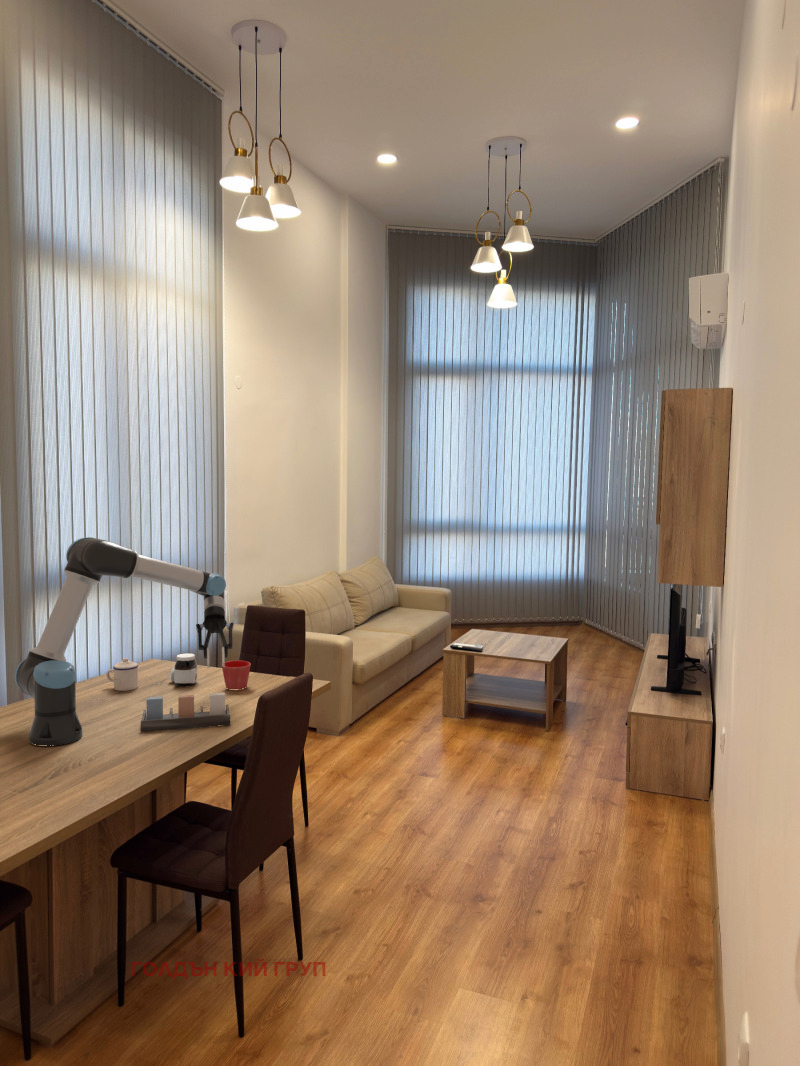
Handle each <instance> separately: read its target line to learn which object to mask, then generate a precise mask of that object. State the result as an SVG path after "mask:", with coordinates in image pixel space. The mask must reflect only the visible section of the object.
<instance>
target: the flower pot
mask: <svg viewBox="0 0 800 1066" xmlns="http://www.w3.org/2000/svg"><path fill="white" fill-rule="evenodd" d="M251 665H252V664H251V662H249V661H246V660H239V659H238V660H229V661H225V667H222V666H221V669H222V674H223V675H222V676H223V679H224V684H225V689H226V688H228V689H242V688H245V687H246V688H247V687H248V681H249V675H250V670H251Z"/></svg>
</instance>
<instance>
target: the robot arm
mask: <svg viewBox="0 0 800 1066" xmlns="http://www.w3.org/2000/svg"><path fill="white" fill-rule="evenodd" d="M65 556H66V557H65V558H66V561H67V563H66V565H65V567H64V570H63V572H64V574H65V580H64V582H63V585H62V587H61V590H60V592H59V594H58V597H57V599H56V601H55V604H54V607H53V608H52V611H51V613H50V615H49V618H48V620H47V623H46V624H45V627H44V629H43V631H42V633H41V637H40V639H39V641H38V644H37V645H36V647H33V648H31V649H30V650H29V651H28V654H27V656H26V658H25V659H23V660H22V661H20V662H19V664H18V665H17V667H16V669H15V671H14V681H15V684H16V686H17V687H18V688H19V690H20V691H21V692H22V693H24V694H25V695H27V696H30V697H31V698H33V699H34V718H33V721H32V724H31V727H30V731H29V733H28V742H29V741H30V742H31V743H33V744H36V745H47V746H50V745H51V746H50V747H56V746H55V745H59V746H63V744H64V745H68V744H71V742H72V743H74V742H77V741H78V740H80V739H81V738H82V737H83V726H82V725H81V721H80V719H79V715H78V714H77V707H76V706H77V702H76V700H77V699H76V697H77V696H76V694H77V693H76V690H77V689H76V685H77V684H76V678H77V674H76V670H75V666H74V665H73V664H72V663H71V662H68V661H67V659H66V656H65V654H66V653H65V652H66V650H67V648H68V645H69V643H70V641H71V638H72V636H73V633H74V632H75V630H76V626H77V624H78V622H79V620H80V617H81V615H82V613H83V611H84V607H85V606H86V603H87V600H88V597H89V596H90V593H91V591H92V588H93V586H95V585H97V584H99V583H100V581H101V579H102V578H103V576H109V577H110V576H111V577H119V578H122V579H129V578H131V577H132V578H136V579H141V580H144V581H148V582H149V581H150V582H154V583H158V584H163V585H167V586H171V587H174V588H179V589H185V590H188V591H190V592H192V593H196V594H197V595H200V596H202V597H203V617H204V618H203V622H202V623H196V625H195V626H196V627H195V629H196V631H197V641H198V642H197V646H198V651H203V659H206V666H207V669H208V668H210V647H209V645H210V644H209V643H210V640H211V636H212V634H218V636H219V638H220V641H221V645H222V646H221V661H222V662H221V668H222V667H225V662H226V660H225V659H226V658H228V654H229V653H228V651H229V649H230V650H232V649H233V629H234V626H235V625H234V622H230V623H229V622H227V620H226V610H225V609H226V607H225V605H226V603H225V602H226V601H225V590H226V587H227V581H226V580H225V578H224V577H223V576H222V575H221V574H219V573H214V572H213V573H212V572H208V571H207V572H206V571H204V570H203V571H202V570H199V569H197V568H196V569H195V568H192V567H188V566H184V565H180V564H175V563H172V562H169V561H165V560H161V559H157V558H153V557H149V556H146V555H141V554H138V553H137V551H136V550H134V549H130V548H127V547H125V546H122V545H120V544H117V543H115V542H112V541H109V540H105V539H99V538H97V537H89V536H88V537H80V538H78V539H76V540H74V541H73V542H72V543H71V544H70V545H69V547H68V548H67V550H66V554H65ZM203 628H204V629H205V630H206V631H207V633H206V636H205V639H204V643H203V642H202V641H203V639H202V638H203V637H202V636H203V635H202V634H203V633H202V631H203ZM225 628H227V630H228V643H227V640H226V637H225V634H224V629H225ZM202 643H203V644H202ZM76 740H77V741H76ZM52 745H54V746H52Z"/></svg>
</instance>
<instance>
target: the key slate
mask: <svg viewBox="0 0 800 1066" xmlns="http://www.w3.org/2000/svg"><path fill="white" fill-rule="evenodd" d="M163 715H164V696H150V697H146V716H147V720H153V719H163Z"/></svg>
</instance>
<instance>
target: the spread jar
mask: <svg viewBox="0 0 800 1066" xmlns="http://www.w3.org/2000/svg"><path fill="white" fill-rule="evenodd" d="M195 657H196V655H195V654H194V653H180V654H177V655H176V661H175V665H174V666H173V667H172V668H171V669H170V671H169V674H168V680H170V681H171V682H173V683H174V684H175V685H176V686H178V687H180V686H181V688H182V687H183V688H185V687H186V686H189V687H192V685H193V686H195V685H196V683H197V681H198V663H197V661H196V659H195ZM194 684H195V685H194Z"/></svg>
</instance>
